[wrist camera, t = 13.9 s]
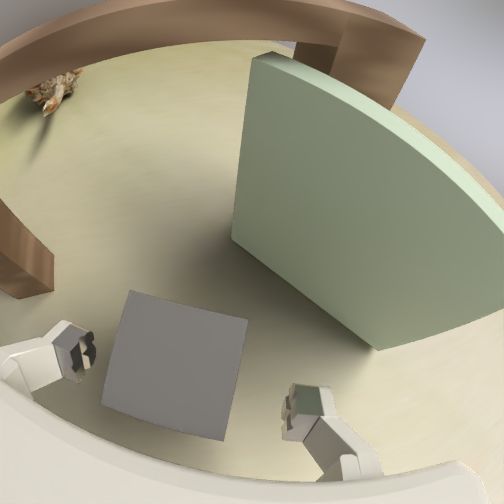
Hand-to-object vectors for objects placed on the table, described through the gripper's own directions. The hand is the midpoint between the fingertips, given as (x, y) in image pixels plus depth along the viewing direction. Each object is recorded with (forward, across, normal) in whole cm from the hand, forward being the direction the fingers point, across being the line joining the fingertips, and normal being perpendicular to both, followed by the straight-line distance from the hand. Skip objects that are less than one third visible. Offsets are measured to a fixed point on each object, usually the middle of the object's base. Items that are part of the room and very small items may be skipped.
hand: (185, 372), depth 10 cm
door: (+10, -6, -1) cm, 12 cm away
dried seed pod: (+22, +27, -12) cm, 37 cm away
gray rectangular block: (+5, 0, +5) cm, 7 cm away
